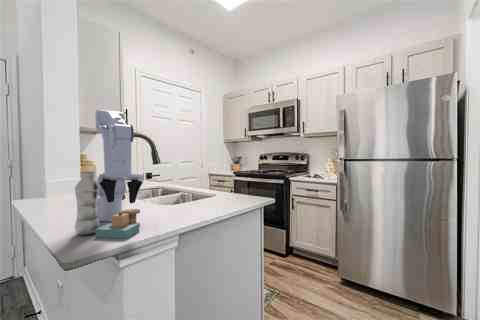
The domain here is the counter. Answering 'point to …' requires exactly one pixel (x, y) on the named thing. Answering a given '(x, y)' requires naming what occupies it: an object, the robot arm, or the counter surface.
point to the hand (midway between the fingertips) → (121, 202)
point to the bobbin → (132, 215)
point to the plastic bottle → (87, 204)
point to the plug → (120, 220)
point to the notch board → (117, 231)
